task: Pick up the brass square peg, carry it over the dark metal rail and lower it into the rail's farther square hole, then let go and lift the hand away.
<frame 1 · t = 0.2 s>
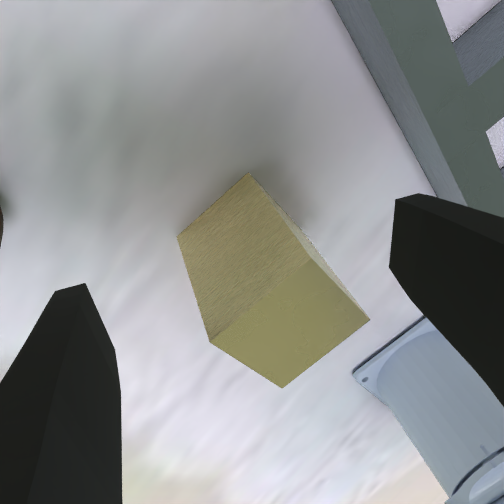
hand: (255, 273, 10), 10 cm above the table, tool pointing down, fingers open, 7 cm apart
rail: (485, 45, 20), on the table
square peg: (241, 232, 21), on the table
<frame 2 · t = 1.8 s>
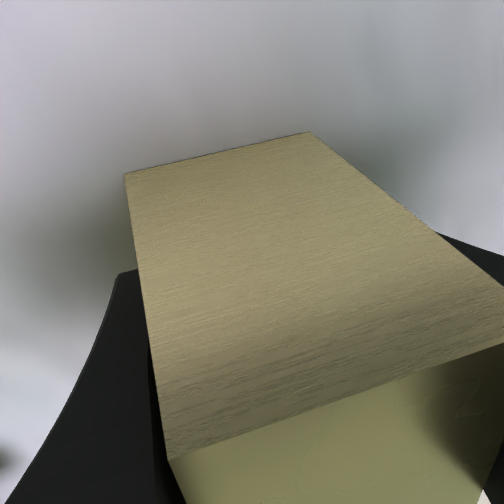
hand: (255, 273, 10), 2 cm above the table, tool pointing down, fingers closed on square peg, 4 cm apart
square peg: (233, 231, 11), on the table, touching gripper
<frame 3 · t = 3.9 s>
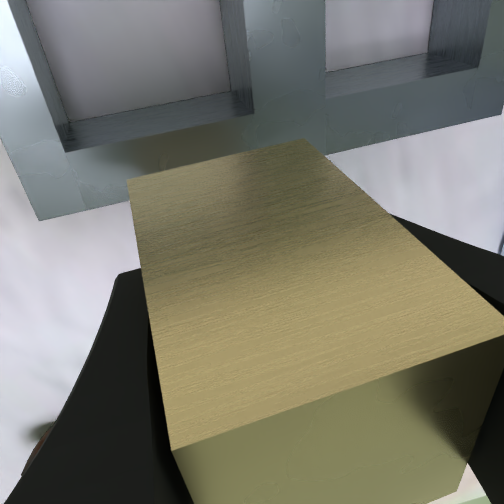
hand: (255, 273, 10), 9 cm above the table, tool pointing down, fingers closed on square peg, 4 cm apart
square peg: (231, 233, 12), point 7 cm above the table, touching gripper
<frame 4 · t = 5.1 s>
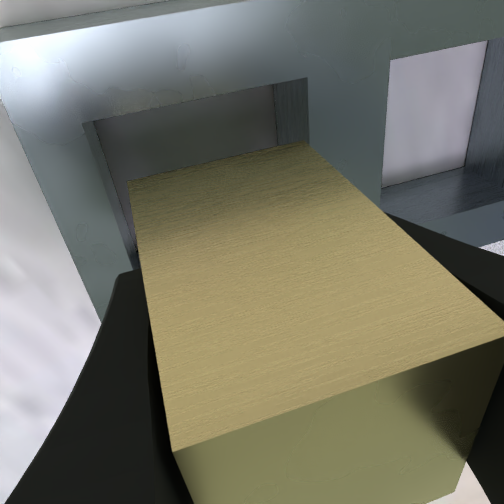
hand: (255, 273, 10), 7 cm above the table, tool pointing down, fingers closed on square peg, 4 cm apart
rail: (309, 136, 16), on the table
square peg: (230, 234, 12), point 4 cm above the table, touching gripper
when the fingers open (4 cm above the table, at t = 6.0 s): square peg drops 2 cm, resting in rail.
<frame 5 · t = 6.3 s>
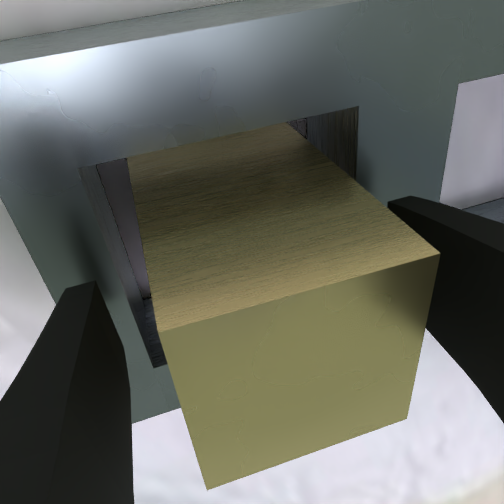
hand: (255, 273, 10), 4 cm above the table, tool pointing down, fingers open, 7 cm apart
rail: (345, 166, 14), on the table
square peg: (218, 206, 13), resting in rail
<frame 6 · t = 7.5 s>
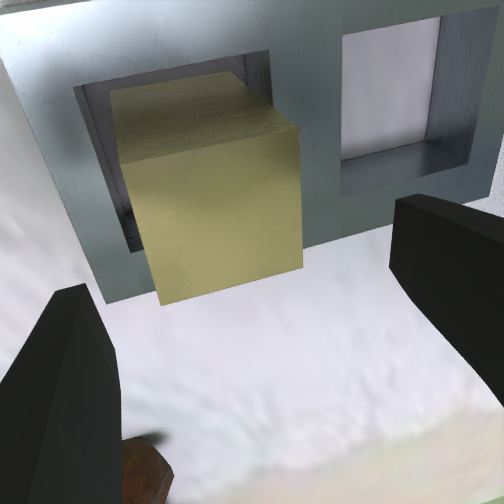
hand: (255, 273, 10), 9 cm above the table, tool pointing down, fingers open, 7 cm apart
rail: (280, 109, 18), on the table
bolt: (141, 496, 31), on the table
square peg: (181, 138, 17), resting in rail
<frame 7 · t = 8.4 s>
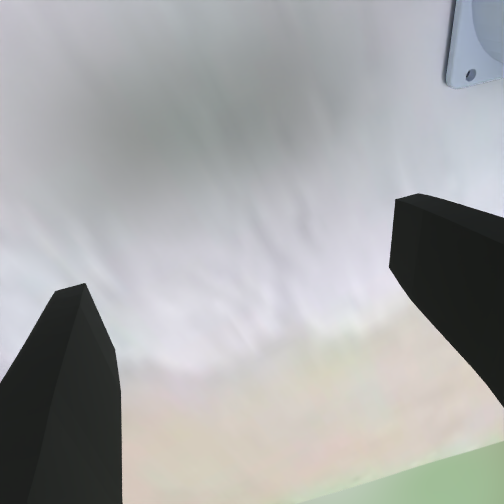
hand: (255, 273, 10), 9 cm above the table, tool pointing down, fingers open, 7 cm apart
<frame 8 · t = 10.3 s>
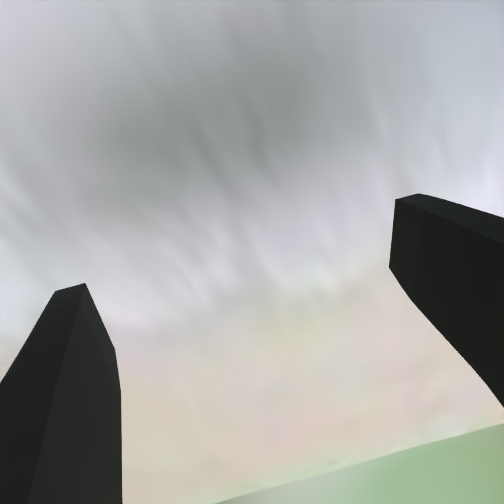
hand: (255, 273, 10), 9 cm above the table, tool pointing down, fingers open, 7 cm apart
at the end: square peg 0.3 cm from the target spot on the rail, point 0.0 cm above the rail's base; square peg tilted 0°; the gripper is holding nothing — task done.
